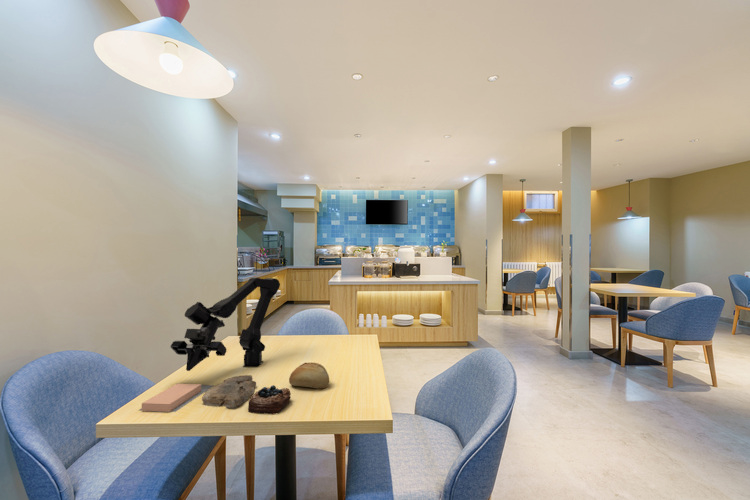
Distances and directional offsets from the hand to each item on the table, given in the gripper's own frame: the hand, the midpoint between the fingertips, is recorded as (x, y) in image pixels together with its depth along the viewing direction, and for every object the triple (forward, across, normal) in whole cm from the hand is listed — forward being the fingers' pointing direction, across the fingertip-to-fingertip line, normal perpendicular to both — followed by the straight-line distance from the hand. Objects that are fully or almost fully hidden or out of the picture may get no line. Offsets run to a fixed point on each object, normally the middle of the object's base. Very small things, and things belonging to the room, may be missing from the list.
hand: (187, 370), depth 110 cm
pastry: (+11, +32, +1) cm, 34 cm away
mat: (+8, 0, +3) cm, 9 cm away
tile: (+4, 0, +5) cm, 6 cm away
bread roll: (-1, +41, +12) cm, 42 cm away
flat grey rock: (+6, +17, +6) cm, 19 cm away
